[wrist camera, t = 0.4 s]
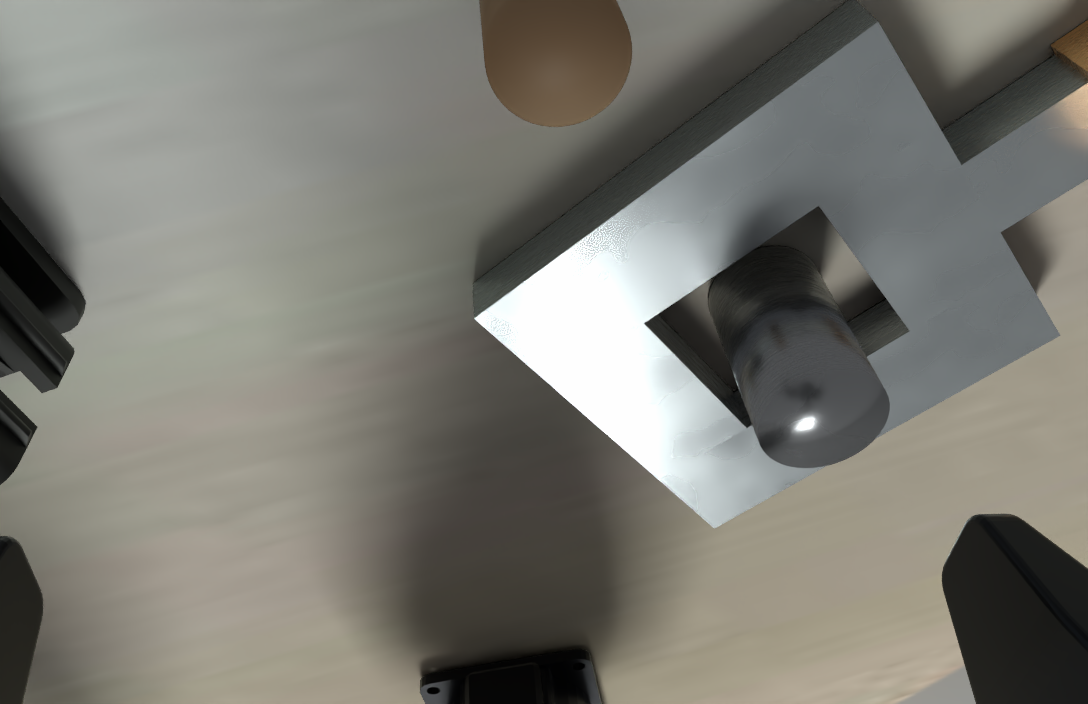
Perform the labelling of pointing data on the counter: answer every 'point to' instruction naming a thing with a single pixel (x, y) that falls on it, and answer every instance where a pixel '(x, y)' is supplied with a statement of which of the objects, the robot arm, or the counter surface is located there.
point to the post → (796, 360)
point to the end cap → (30, 327)
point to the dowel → (555, 57)
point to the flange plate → (769, 207)
